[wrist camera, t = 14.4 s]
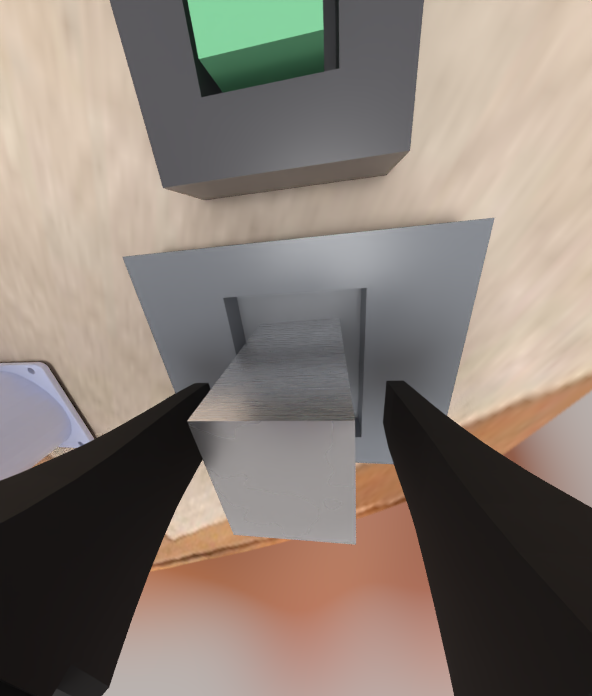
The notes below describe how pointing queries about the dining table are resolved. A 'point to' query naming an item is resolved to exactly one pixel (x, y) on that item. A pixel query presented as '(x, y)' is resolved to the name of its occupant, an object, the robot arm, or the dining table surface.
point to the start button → (258, 40)
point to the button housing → (275, 101)
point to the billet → (283, 435)
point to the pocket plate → (325, 307)
